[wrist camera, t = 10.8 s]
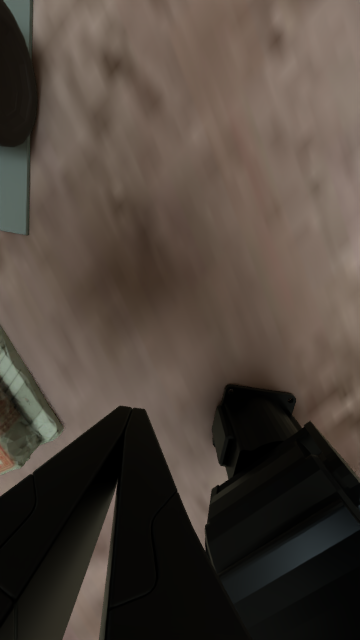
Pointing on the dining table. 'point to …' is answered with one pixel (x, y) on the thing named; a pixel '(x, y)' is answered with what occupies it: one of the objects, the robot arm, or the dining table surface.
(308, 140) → the dining table surface
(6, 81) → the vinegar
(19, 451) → the packaged product
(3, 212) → the mat
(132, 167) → the dining table surface
